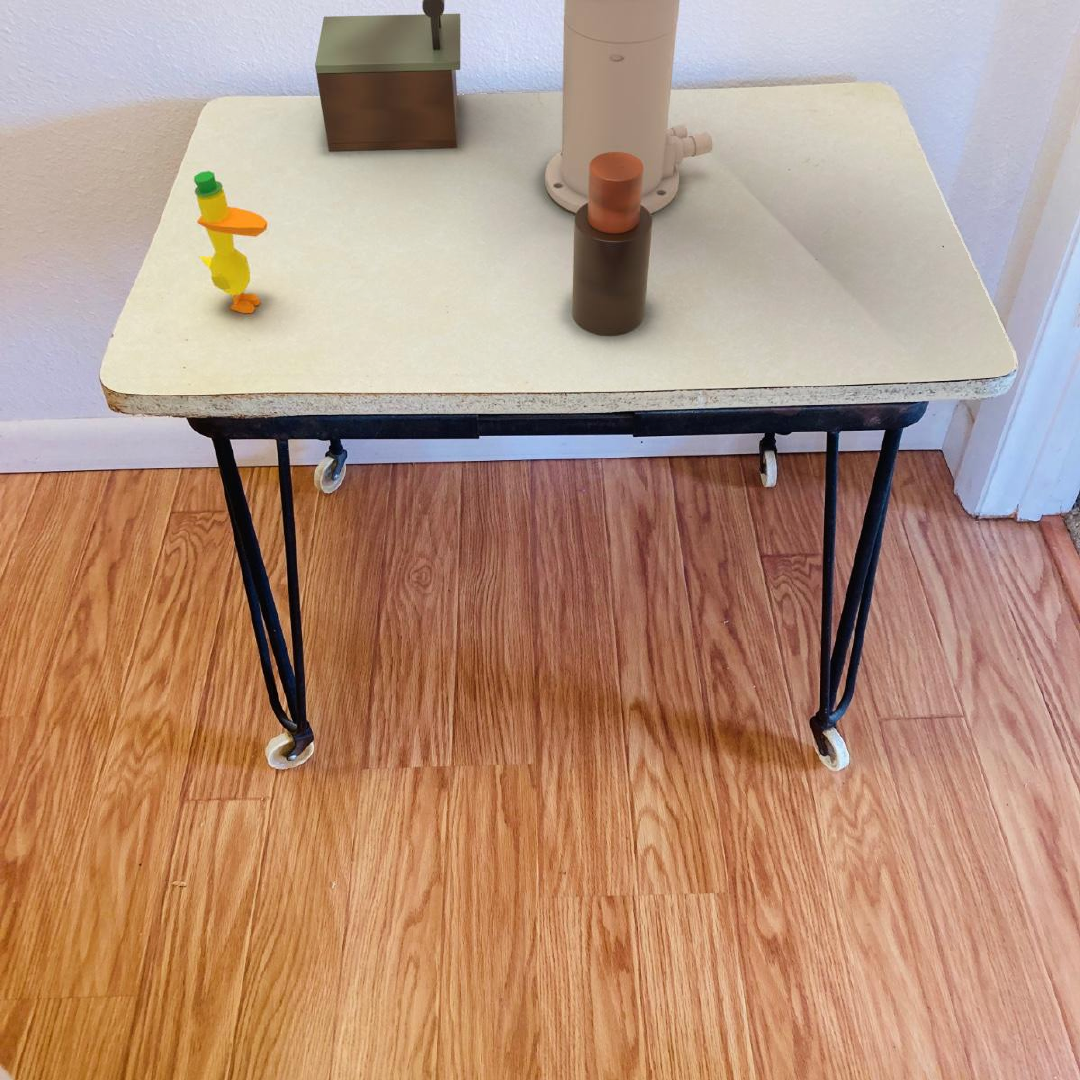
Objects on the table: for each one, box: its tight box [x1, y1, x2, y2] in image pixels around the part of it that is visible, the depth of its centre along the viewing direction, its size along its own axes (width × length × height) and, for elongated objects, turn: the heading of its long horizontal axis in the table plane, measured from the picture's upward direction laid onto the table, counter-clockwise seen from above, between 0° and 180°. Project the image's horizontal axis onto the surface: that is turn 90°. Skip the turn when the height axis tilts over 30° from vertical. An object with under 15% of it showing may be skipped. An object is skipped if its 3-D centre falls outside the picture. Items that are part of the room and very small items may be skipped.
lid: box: [314, 0, 462, 74], centre depth 102 cm, size 13×10×6 cm
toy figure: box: [193, 170, 268, 314], centre depth 86 cm, size 7×4×12 cm, turn 75°
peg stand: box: [571, 203, 653, 337], centre depth 87 cm, size 6×6×9 cm
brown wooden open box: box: [316, 70, 458, 152], centre depth 107 cm, size 13×10×8 cm
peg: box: [587, 152, 643, 234], centre depth 82 cm, size 4×4×4 cm
